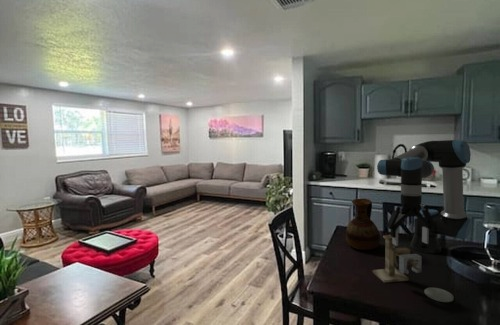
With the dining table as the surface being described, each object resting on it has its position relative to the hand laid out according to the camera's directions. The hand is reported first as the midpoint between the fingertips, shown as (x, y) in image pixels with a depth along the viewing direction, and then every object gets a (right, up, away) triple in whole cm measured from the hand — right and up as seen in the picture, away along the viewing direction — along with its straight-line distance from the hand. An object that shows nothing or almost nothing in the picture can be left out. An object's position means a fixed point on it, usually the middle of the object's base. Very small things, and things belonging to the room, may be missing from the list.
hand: (410, 243), depth 115 cm
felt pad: (+11, -21, -1) cm, 24 cm away
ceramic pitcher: (+2, -18, +53) cm, 56 cm away
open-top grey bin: (+1, -12, +1) cm, 12 cm away
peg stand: (0, -21, +10) cm, 23 cm away
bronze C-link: (0, -12, +8) cm, 14 cm away
